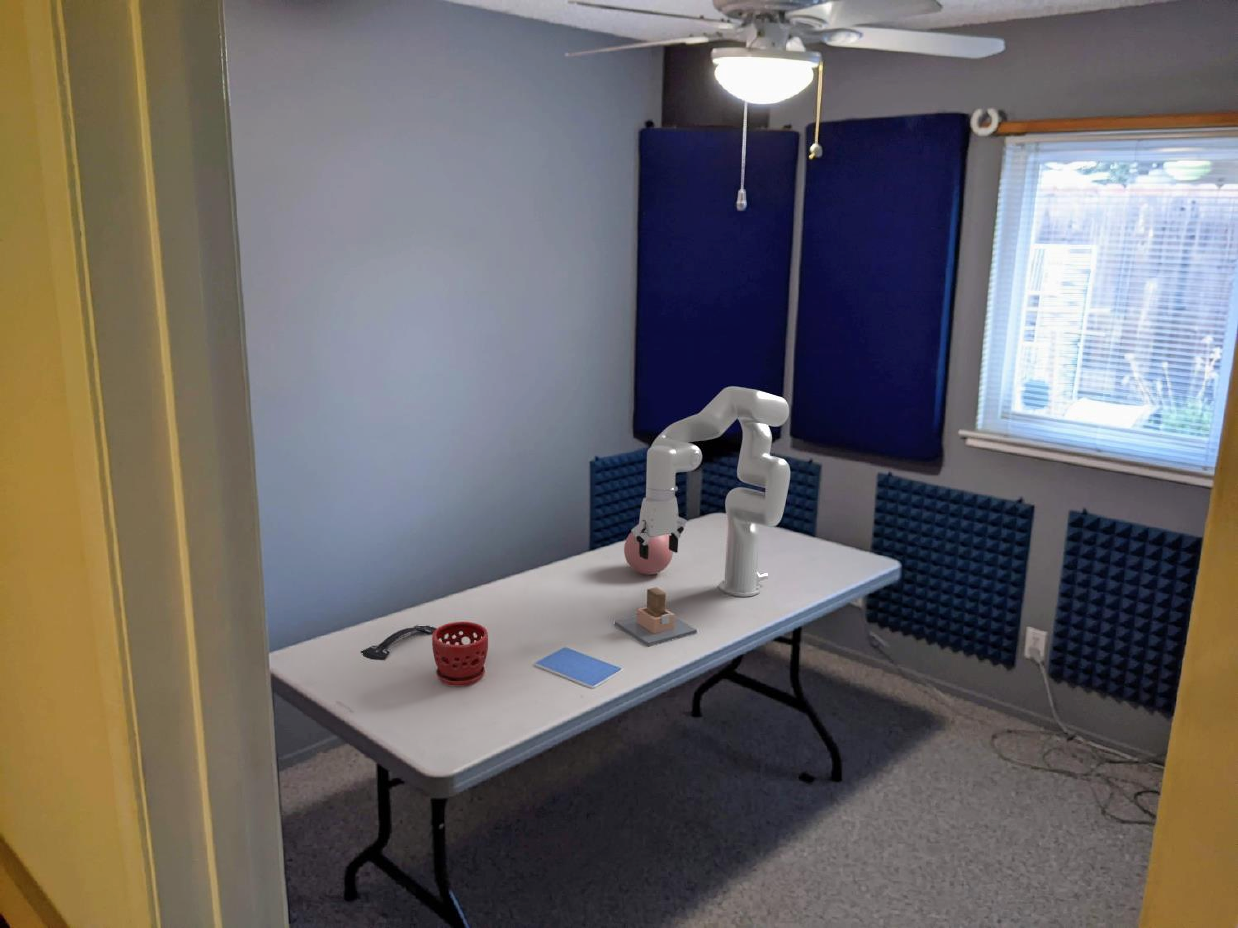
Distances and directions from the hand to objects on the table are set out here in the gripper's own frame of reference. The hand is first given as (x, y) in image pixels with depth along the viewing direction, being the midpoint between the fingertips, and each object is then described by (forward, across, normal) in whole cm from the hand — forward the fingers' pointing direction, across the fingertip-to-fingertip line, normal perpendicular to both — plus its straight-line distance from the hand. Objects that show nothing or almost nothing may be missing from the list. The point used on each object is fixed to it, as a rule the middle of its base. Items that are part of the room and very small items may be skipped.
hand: (658, 554), depth 253 cm
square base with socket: (+21, 0, 0) cm, 21 cm away
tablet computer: (+22, +30, +9) cm, 39 cm away
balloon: (+22, -24, -36) cm, 49 cm away
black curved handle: (+22, +62, -27) cm, 71 cm away
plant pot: (+21, +58, -1) cm, 61 cm away
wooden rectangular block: (+20, 0, 0) cm, 20 cm away
